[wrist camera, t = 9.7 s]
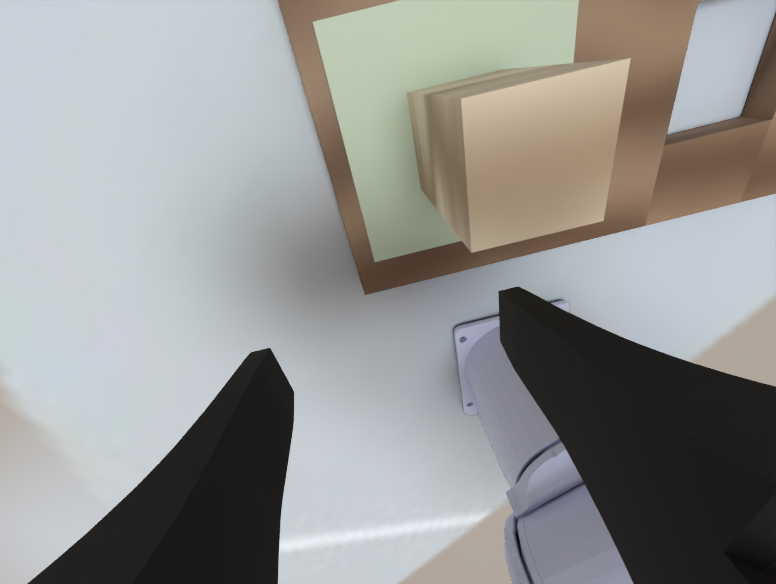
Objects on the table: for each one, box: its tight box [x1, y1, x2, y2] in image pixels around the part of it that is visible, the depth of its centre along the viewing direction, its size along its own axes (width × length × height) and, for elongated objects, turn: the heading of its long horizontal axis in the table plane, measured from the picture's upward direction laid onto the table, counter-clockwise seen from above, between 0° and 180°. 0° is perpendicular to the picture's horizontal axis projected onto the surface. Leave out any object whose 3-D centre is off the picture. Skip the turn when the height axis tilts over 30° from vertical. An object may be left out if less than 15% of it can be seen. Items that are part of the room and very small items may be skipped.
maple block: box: [407, 58, 631, 253], centre depth 12 cm, size 4×4×7 cm
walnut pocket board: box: [278, 0, 776, 295], centre depth 16 cm, size 14×26×2 cm, turn 102°
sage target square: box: [313, 0, 579, 262], centre depth 15 cm, size 10×10×1 cm
